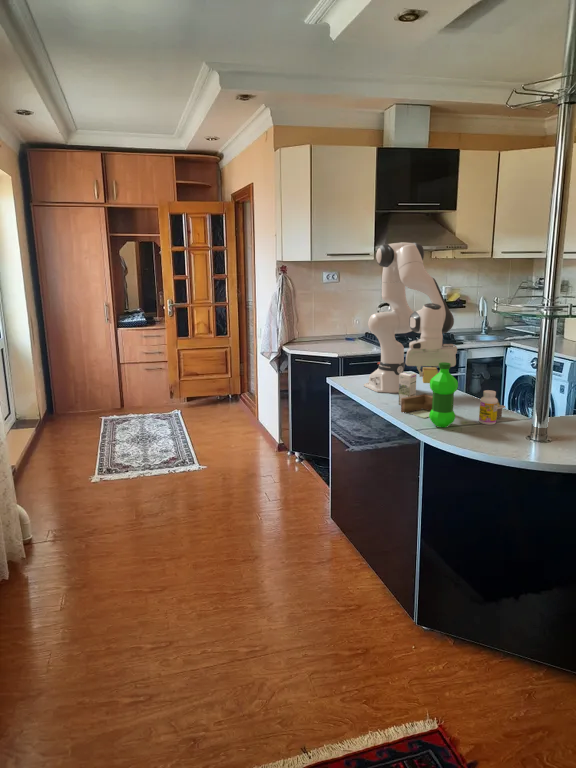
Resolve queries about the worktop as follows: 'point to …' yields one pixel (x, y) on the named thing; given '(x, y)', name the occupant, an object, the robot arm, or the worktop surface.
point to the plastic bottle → (443, 396)
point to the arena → (416, 403)
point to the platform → (499, 410)
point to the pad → (421, 414)
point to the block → (429, 374)
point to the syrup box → (407, 385)
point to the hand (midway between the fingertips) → (429, 376)
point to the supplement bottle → (488, 408)
